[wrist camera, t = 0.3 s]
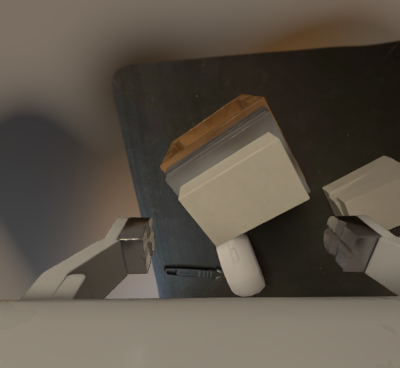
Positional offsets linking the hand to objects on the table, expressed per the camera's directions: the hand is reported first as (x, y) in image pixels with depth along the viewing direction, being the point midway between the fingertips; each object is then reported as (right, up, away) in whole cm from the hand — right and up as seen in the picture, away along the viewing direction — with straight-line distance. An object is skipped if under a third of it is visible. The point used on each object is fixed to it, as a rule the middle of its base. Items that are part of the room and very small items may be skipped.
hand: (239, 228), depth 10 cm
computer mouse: (+6, -13, +32) cm, 35 cm away
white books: (+25, +1, +25) cm, 36 cm away
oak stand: (+2, +8, +22) cm, 24 cm away
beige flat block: (+2, +2, +10) cm, 10 cm away
